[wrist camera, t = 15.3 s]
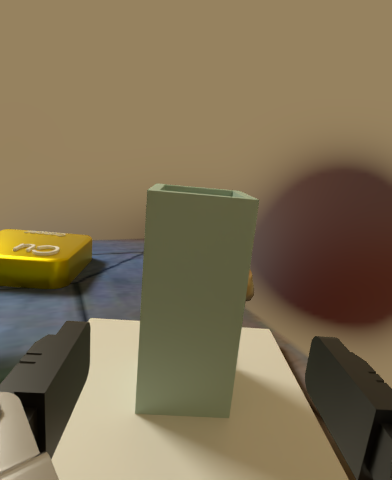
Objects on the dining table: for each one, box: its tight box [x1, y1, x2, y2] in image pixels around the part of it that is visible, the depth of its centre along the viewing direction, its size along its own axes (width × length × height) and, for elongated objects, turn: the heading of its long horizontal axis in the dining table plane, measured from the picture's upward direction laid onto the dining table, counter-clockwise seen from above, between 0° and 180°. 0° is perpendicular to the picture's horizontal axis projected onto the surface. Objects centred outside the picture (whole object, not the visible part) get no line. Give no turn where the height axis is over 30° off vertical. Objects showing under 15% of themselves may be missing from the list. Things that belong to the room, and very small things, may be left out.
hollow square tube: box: [135, 184, 259, 418], centre depth 22 cm, size 8×6×14 cm
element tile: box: [0, 229, 92, 289], centre depth 47 cm, size 15×15×5 cm
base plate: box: [51, 318, 349, 480], centre depth 22 cm, size 18×18×9 cm
